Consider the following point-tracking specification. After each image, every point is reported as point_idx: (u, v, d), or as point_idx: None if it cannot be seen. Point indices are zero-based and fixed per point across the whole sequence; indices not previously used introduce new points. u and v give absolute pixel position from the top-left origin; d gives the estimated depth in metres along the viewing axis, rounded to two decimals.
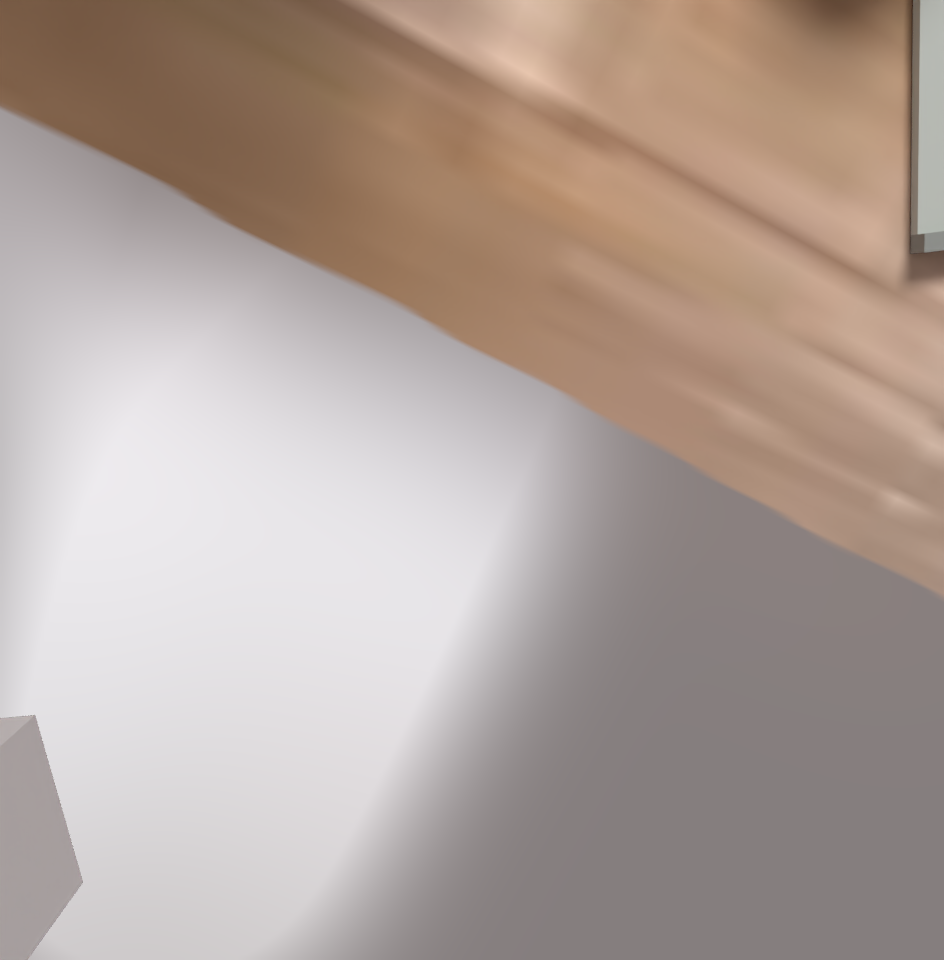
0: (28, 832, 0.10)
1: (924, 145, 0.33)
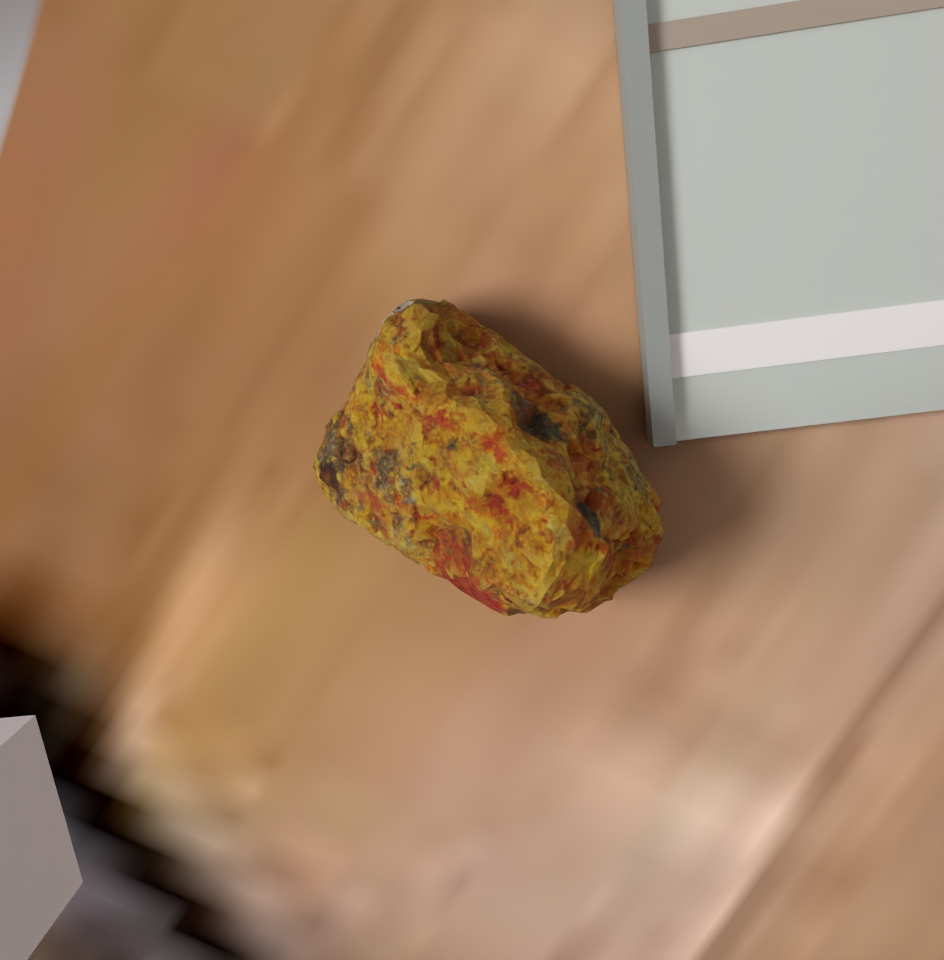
0: (28, 832, 0.10)
1: (916, 406, 0.27)
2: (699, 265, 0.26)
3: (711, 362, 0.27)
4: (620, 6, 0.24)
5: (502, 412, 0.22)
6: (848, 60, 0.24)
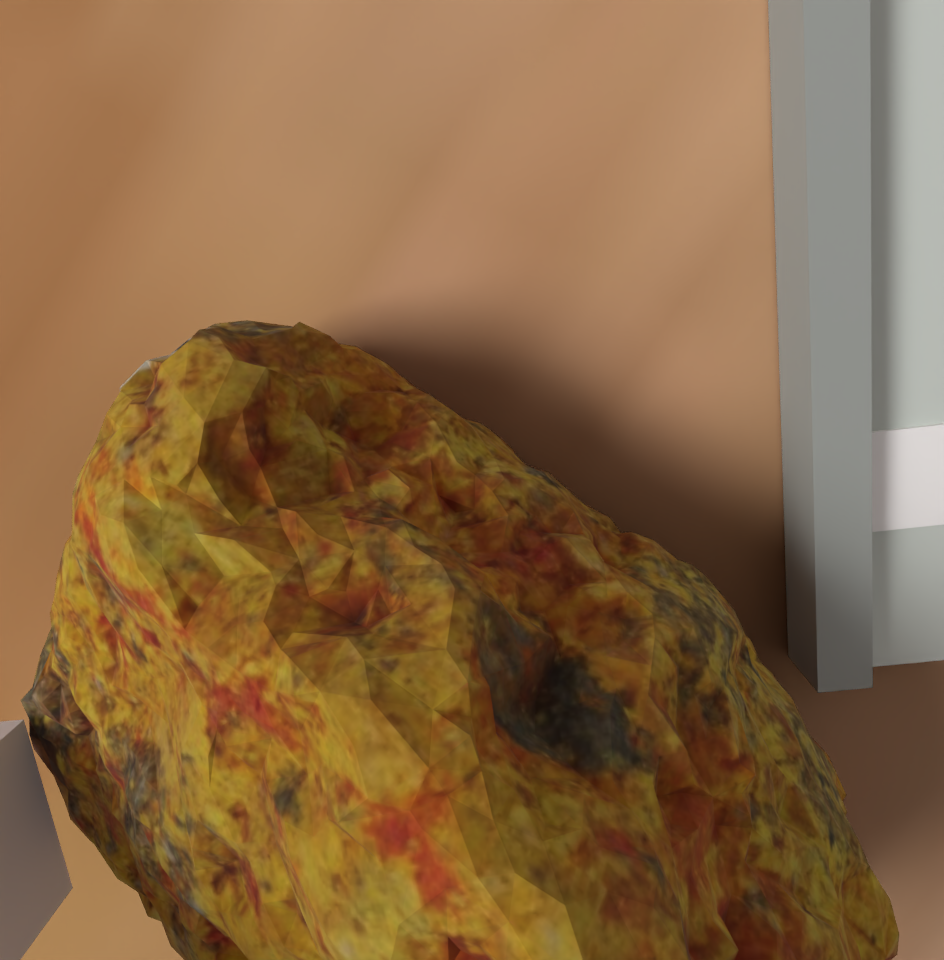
0: (16, 837, 0.10)
1: None
2: None
3: None
4: None
5: (443, 705, 0.06)
6: None
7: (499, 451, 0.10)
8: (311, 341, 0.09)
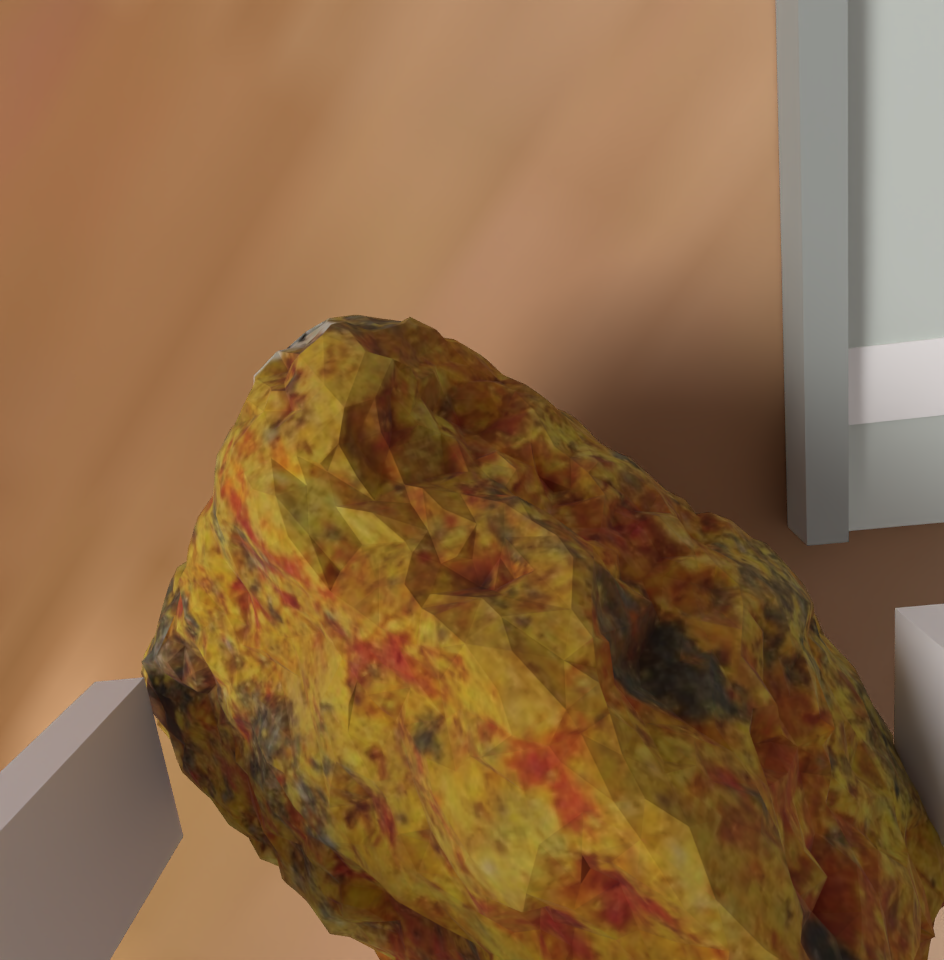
0: (141, 785, 0.11)
1: None
2: (906, 224, 0.14)
3: (915, 399, 0.15)
4: None
5: (572, 657, 0.07)
6: None
7: (587, 437, 0.11)
8: (421, 334, 0.10)
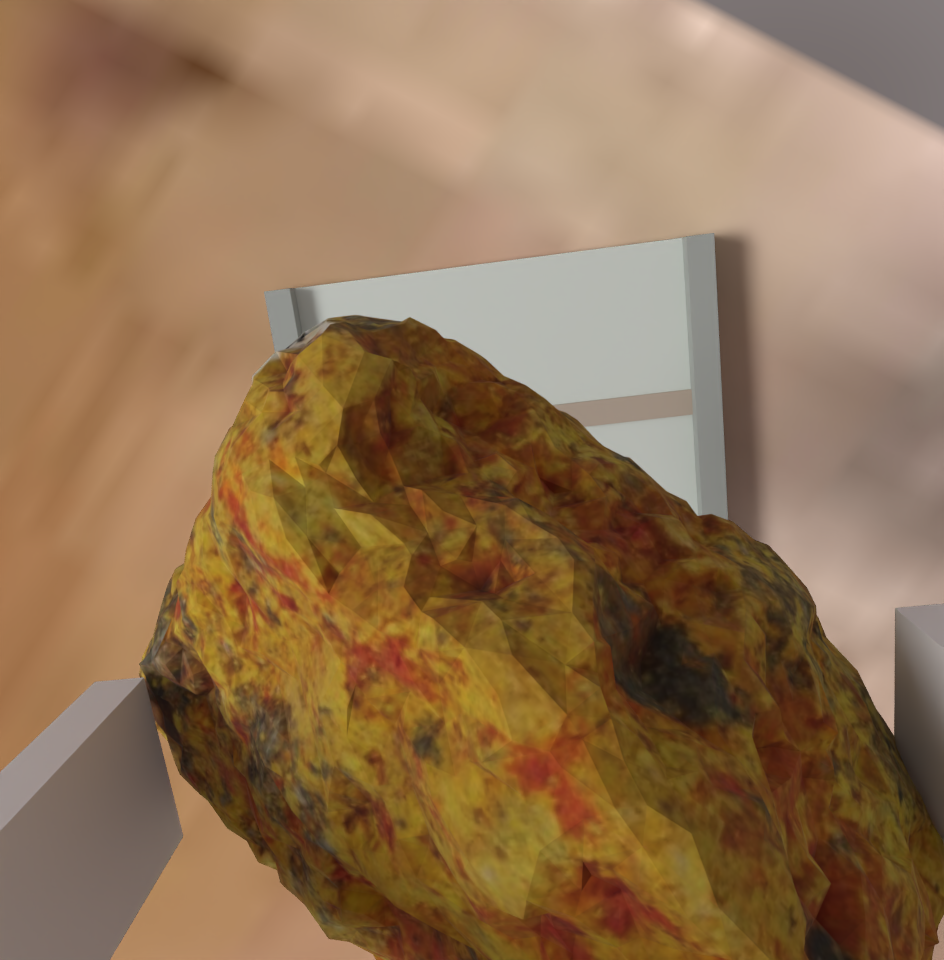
0: (141, 785, 0.11)
1: None
2: None
3: None
4: None
5: (573, 662, 0.07)
6: None
7: (588, 438, 0.11)
8: (421, 335, 0.10)
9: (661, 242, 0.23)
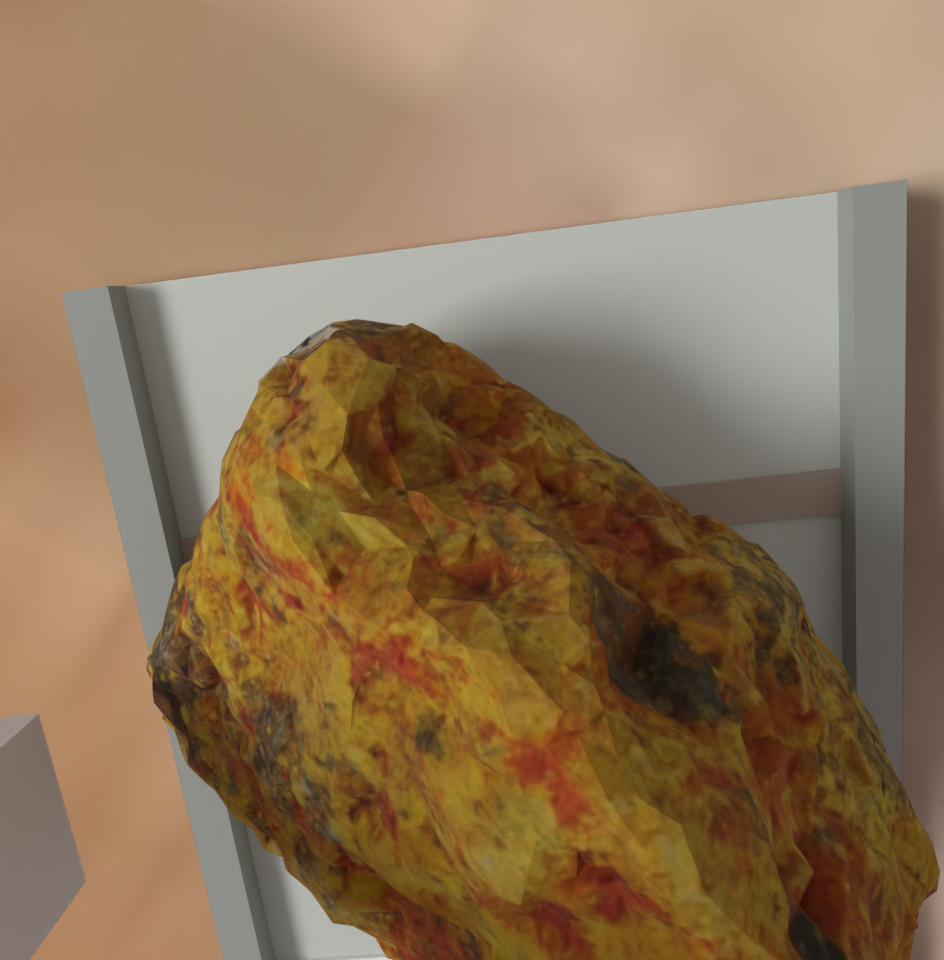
0: (32, 831, 0.10)
1: None
2: None
3: None
4: (121, 526, 0.14)
5: (569, 660, 0.08)
6: None
7: (585, 440, 0.11)
8: (422, 340, 0.10)
9: (797, 200, 0.13)
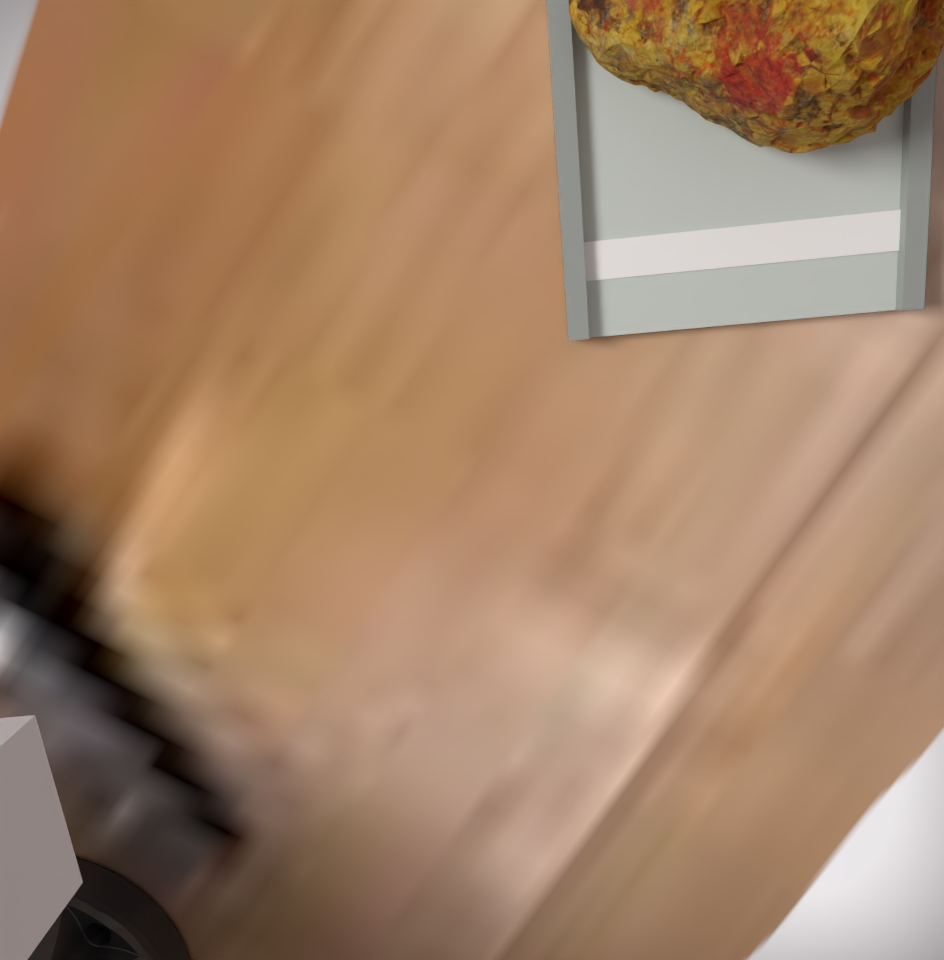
0: (28, 832, 0.10)
1: (799, 312, 0.31)
2: (612, 181, 0.30)
3: (621, 268, 0.31)
4: None
5: None
6: None
7: None
8: None
9: None
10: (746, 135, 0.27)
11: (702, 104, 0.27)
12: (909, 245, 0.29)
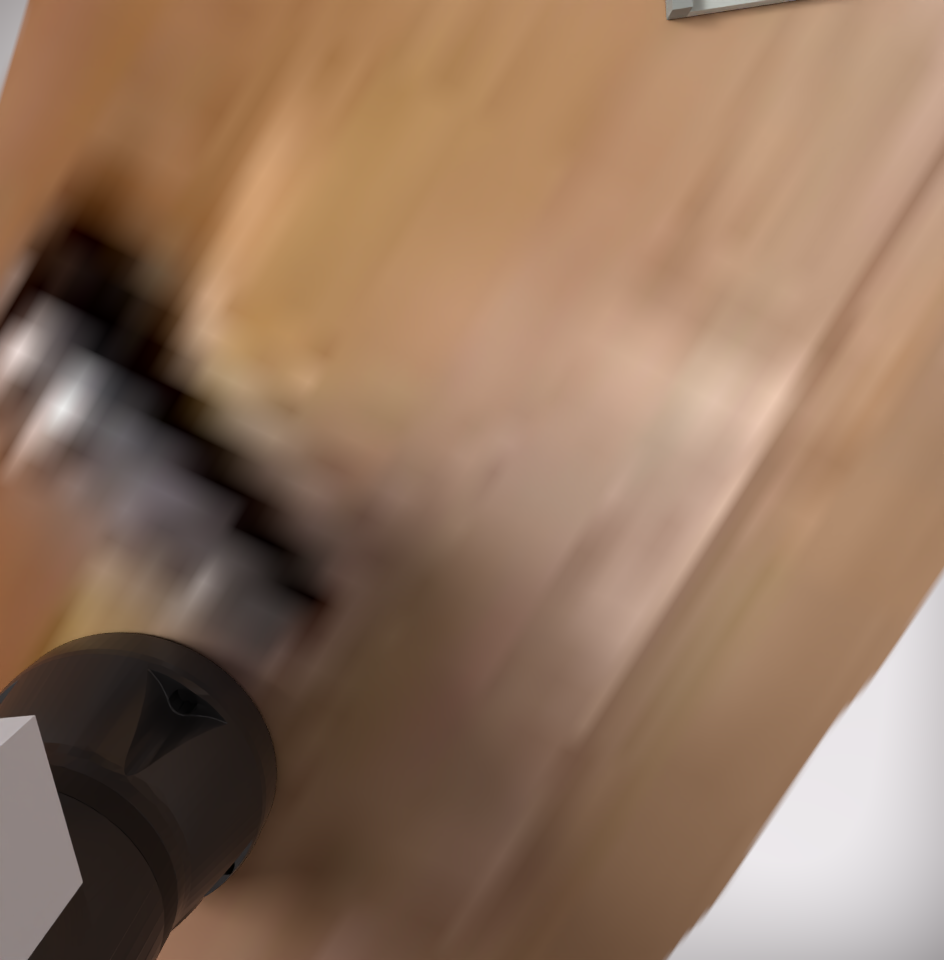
0: (28, 832, 0.10)
1: None
2: None
3: None
4: None
5: None
6: None
7: None
8: None
9: None
10: None
11: None
12: None
